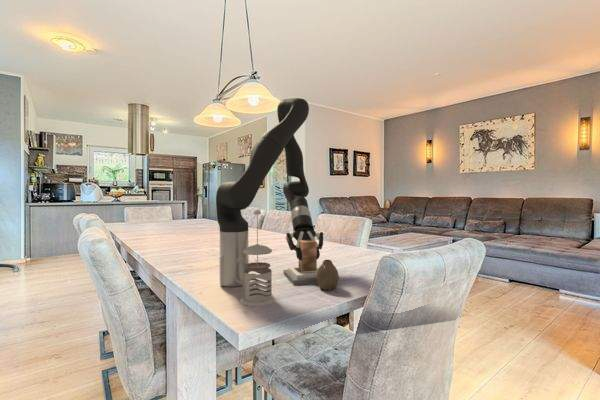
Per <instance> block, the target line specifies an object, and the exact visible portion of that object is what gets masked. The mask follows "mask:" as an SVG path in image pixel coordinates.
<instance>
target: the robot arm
mask: <svg viewBox="0 0 600 400" xmlns="http://www.w3.org/2000/svg"><path fill="white" fill-rule="evenodd" d="M276 110H277V119H278V123H277V124H276V125H274V126H273V127H271V128H270V129H268V130H267V131H266V132H264V133H263V134H262V135H261V136H260V137H259V139H258V140H257V141H256V142H255V144H254V146H253V147H252V149H251V152H250V156H249V163H248V166H247V168H246V169H245V171H244V172H243V173H242V175H241V176H240V177H239V179H238V180H237V181H225V182H223V183H221V184H220V185H219V186H218V187H217V190H216V194H215V195H216V196H215V205H216V206H215V207H216V210H215V211H216V220H217V224H218V228H219V285H220V287H240V286H242V287H243V284H240V283H241V282H243V283H244V270H245V269H247V268H245V265H246V264H248V263H250V261H249V260H250V259H249V256H250V255H248V254H244V253H243V250H244V249H246V248H247V247H250V246H249V222H248V221H247V220H246V218H244V216H243V215H242V211H243V210H245V209H247V208H249V206H250V205H251V204H252V203H253V202H254V199H255V197H256V195H257V194H258V191H259V190H260V187H261V185H262V183H263V181H264V180H265V178H267V175H268V174H269V173H270V171H271V169H272V167H273V165H274V164H275V163H276V162H277V161H278V159H279V157H280V156H281V155H282V152H283V151H284V152H285V167H286V168H285V169H286V170H285V171H286V174H287V176H288V177H293V178H297V179H298V181H297V180H296V181H295V180H294V181H287V182H285V183H284V184H283V187H282V191H283V195H284V197H285V199H286V201H287V203H288V204H289V207H290V214H291V215H290V218H291V223H292V229H293V230H292V231H293V233H289V232H287V233H286V237H285V240H286V242H287V245H288V247H289V250H290V251H295V255H296V258H297V260H298V261H299V260H301V258H302V255H301V249H300V248H299V247H300V243H299V240H314V241H316V239H317V240H318V243H317V260H319V258H320V255H321V254H320V250H322V248H323V245H324V232H322V231H320V232H316V231H315V229H314V223H313V220H312V214H311V212H310V209H309V205H308V204H309V203H308V200H307V199H306V197H308V195H309V193H310V188H309V184H308V183H307V182H308V181H307V179H306V175H305V171H304V169H305V168H304V157H303V156H304V155H303V151H302V149H301V147H300V144H299V142H297V140H296V138H295V134H296V132H298V130H299V129H300V128H301V127H302V126H303V124H304V123H305V122H306V120H307V119H308V116H309V114H310V113H309V112H310V106H309V104H308V101H307V100H305V99H304V98H300V97H296V98H295V97H294V98H283V99H281V100H280V101H278V104H277V109H276ZM315 237H316V239H315ZM293 239H295V240H296V242H297V243H296V244H294V243H295V242H294V241H293ZM316 242H317V241H316ZM241 256H243V257H244V258H245V262H243V258H242V257H241ZM239 257H241V258H242V259H241V258H239ZM238 258H239V259H241V260H239V259H238ZM237 259H238V260H239V261H238V260H237ZM236 260H237V261H238V263H237V264H236V263H235V261H236ZM237 261H236V262H237ZM234 263H235V264H236V266H235V265H234ZM233 265H234V267H235V277H236V279H237V280H239V281H241V282H240V283H239V282H237V281H236V279H235V278H234V275H233ZM247 274H250V272H249V273H247Z"/></svg>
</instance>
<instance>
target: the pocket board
mask: <svg viewBox="0 0 600 400" xmlns="http://www.w3.org/2000/svg"><path fill="white" fill-rule="evenodd" d="M319 267H320V266H319V265H318V264H317V271H318V269H319ZM317 271H306V272H302V271H301V270H300V269H299V266H289V267H288V269H283V275H284V276H285V278H286V279H287V280H288V281H290V283H291V284H292V285H293V286H299V285H300V286H301V285H310V284H311V285H313V284H318V283H317V279H316V275H317Z"/></svg>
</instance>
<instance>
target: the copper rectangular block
mask: <svg viewBox="0 0 600 400" xmlns="http://www.w3.org/2000/svg"><path fill="white" fill-rule="evenodd" d="M299 243H300V247H299V248H300V249H301V255H302V258H301V260H299V259H298V267H299V269H300V270H301V271H302V272H306V271H317V265H318V264H317V262H318V259H317V244H318V243H317V241H314V240H299Z"/></svg>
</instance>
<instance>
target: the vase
mask: <svg viewBox="0 0 600 400" xmlns="http://www.w3.org/2000/svg"><path fill="white" fill-rule="evenodd" d="M332 261H333V260H331V259H323V262H322V263H321V264H320V266H319V269H318V271H317V275H316V279H317V283H316V284H317V285H318V287H319V288H320V290H323V291H333V290H334V289H335V288H336V287H337V286H338V285H339V280H340V279H339V270H338V269H337V267H336V266H335V264H334V263H333V262H332Z"/></svg>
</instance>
